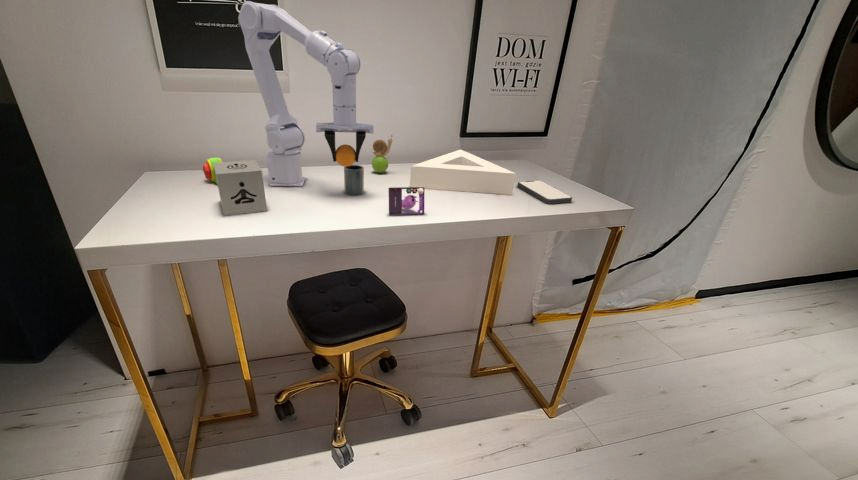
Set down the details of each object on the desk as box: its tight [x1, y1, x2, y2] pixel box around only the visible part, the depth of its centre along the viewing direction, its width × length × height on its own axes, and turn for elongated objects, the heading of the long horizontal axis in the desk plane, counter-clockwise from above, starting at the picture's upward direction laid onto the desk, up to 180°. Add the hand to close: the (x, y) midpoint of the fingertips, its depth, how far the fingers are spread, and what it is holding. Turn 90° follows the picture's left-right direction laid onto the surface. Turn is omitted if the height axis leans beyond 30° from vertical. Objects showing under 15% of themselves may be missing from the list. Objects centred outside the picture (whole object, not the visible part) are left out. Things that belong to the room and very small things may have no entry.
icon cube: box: [213, 159, 268, 217], centre depth 96 cm, size 10×10×10 cm
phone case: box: [516, 179, 573, 205], centre depth 116 cm, size 9×2×16 cm
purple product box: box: [388, 186, 425, 216], centre depth 99 cm, size 7×5×9 cm
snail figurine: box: [371, 134, 393, 174], centre depth 126 cm, size 5×6×12 cm
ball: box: [335, 144, 356, 168], centre depth 103 cm, size 6×6×6 cm
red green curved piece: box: [202, 157, 223, 186], centre depth 116 cm, size 6×19×7 cm, turn 33°
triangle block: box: [409, 149, 517, 196], centre depth 120 cm, size 30×26×6 cm
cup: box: [343, 164, 365, 196], centre depth 110 cm, size 5×5×7 cm
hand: (345, 160), depth 104 cm, fingers closed on ball, 5 cm apart
